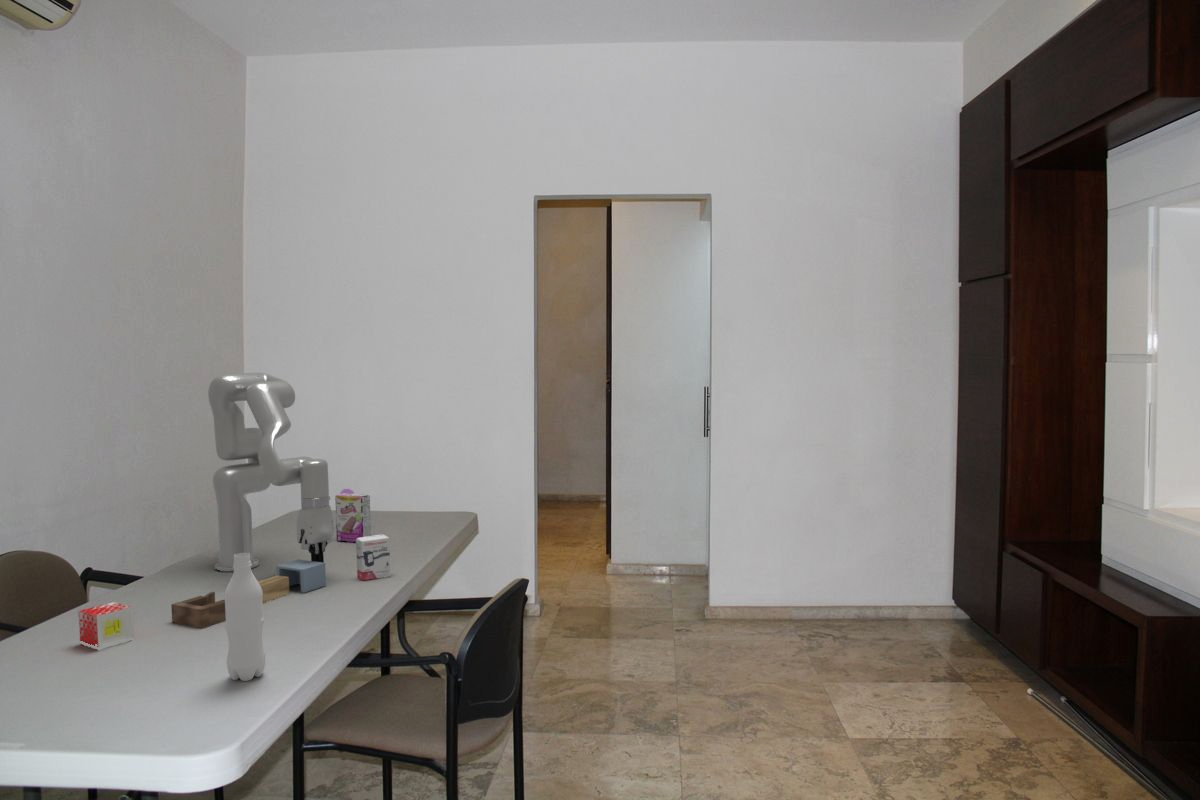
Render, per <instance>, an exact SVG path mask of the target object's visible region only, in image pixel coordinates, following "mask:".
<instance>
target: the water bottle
mask: <svg viewBox="0 0 1200 800" xmlns="http://www.w3.org/2000/svg"><path fill="white" fill-rule="evenodd" d="M250 562H251V561H250V554H249V553H239V554H235V555H234V563H233V564H234V565H233V568H234V571H233V572H232V573H233V574H232V576H231V578H230V580H229V582H228V583H227V587H226V588H225V591H224V595H223V596H224V598H223V600H225V613H226V620H225V621H224V624H225V626H224V627H225V630H226V634H227V639H228V640H227V642H228V652H227V657H226V668H227V673H228V675H229V677H230V678H231V680H233V681H238V680H239V679H240V680H241V681H243V682H249V681H251V680H253V678H254V676H255V677H256V678H259V677H261V676H262V674H263V673H264V671H265V667H266V653H265V648H264V644H263V628H264V622H265V618H264V611H263V609H264V608H263V604H264V603H263V604H262V595H263V592H262V588H261V586H260V584H259V583H258V582H259V581H258V580H257V578H256V576H255V575H254V573H253V572H252V568H251V566H252V564H251V563H250Z"/></svg>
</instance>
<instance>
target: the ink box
mask: <svg viewBox="0 0 1200 800" xmlns="http://www.w3.org/2000/svg"><path fill="white" fill-rule="evenodd" d="M355 544H356V546H355V547H356V549H355V550H356V551H355V552H356V570H357V571H356V574H357V579H359V580H360V581H362V582H365V581H364V580H366V581H370V579H372V580H377V578H378V579H383V577H384V578H389V577H391V558H390V557H391V553H390V552H391V550H390V549H391V548H390V547H391V546H390V537H388V536H387V535H386V534H375V535H371V536H367V537H360V538H357V539H356V543H355Z"/></svg>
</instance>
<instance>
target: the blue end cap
mask: <svg viewBox="0 0 1200 800" xmlns="http://www.w3.org/2000/svg"><path fill="white" fill-rule="evenodd" d="M275 570H276V572H275V574H276V575H275V576H286V577H289V587H291V586H294V585H300V592H301V593H308V592H310V591H311V592H312V591H314V590H318V589H320V588H322V587H323V588H324V587H325V586H327V579H326V578H327V576H326V562H324V563H322V562H314V561H311V560H306V559H294V560H291V561H288V562H285V563H280V564H278V565H276V566H275Z"/></svg>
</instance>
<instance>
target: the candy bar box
mask: <svg viewBox="0 0 1200 800" xmlns="http://www.w3.org/2000/svg"><path fill="white" fill-rule="evenodd" d="M370 497H371V496H370V494H359V493H354V494H346V493H343V494H340V493H339V494H336V495H335V520H336V521H335V525H336V527H335V528H336V542H338V541H347V542H346V543H352V542H356V539H357V538H360V537H367V536H372V531H371V529H372V528H371V527H372V526H371V498H370Z"/></svg>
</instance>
